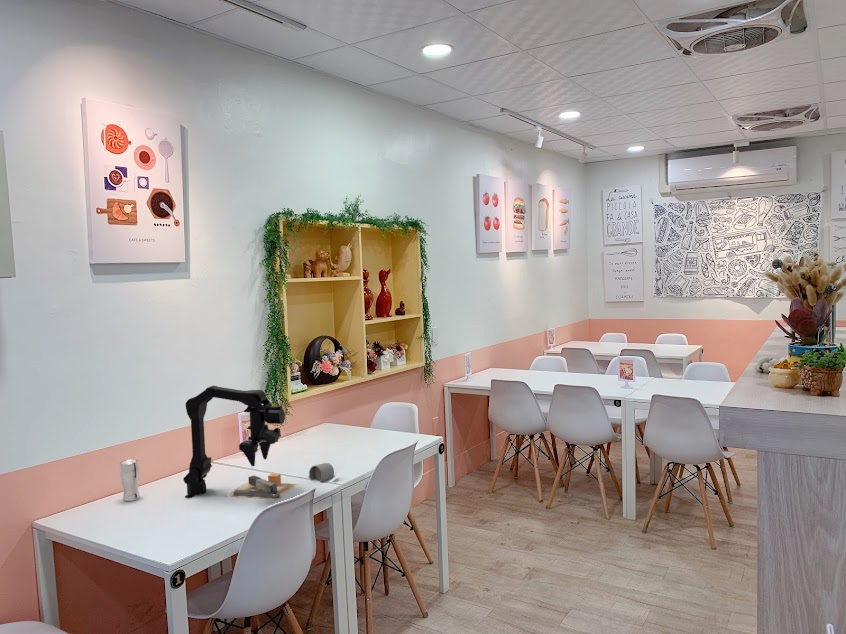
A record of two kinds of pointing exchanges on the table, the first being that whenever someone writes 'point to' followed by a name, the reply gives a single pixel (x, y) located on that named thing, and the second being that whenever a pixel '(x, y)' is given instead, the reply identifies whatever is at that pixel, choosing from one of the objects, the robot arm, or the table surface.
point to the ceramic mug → (321, 472)
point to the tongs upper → (261, 483)
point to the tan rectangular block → (275, 478)
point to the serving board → (281, 488)
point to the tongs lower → (259, 493)
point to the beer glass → (130, 479)
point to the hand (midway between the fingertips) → (259, 462)
